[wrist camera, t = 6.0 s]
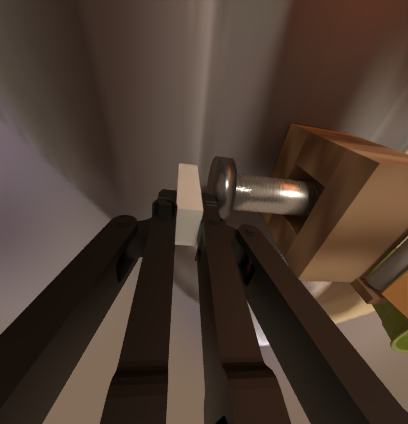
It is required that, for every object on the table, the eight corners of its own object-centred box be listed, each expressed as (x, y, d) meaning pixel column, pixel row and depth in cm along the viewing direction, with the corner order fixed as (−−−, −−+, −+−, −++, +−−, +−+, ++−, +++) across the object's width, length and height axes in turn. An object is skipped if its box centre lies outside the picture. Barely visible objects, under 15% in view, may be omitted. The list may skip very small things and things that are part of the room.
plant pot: (397, 221, 27) (505, 295, 18) (420, 254, 32) (514, 325, 23) (322, 266, 32) (378, 342, 23) (353, 288, 37) (408, 359, 28)
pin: (214, 147, 16) (224, 172, 12) (380, 170, 19) (438, 198, 14) (204, 199, 19) (209, 235, 15) (349, 213, 22) (389, 247, 17)
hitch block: (292, 121, 18) (417, 173, 8) (353, 131, 19) (529, 189, 9) (257, 210, 24) (307, 303, 14) (306, 215, 25) (383, 304, 15)
